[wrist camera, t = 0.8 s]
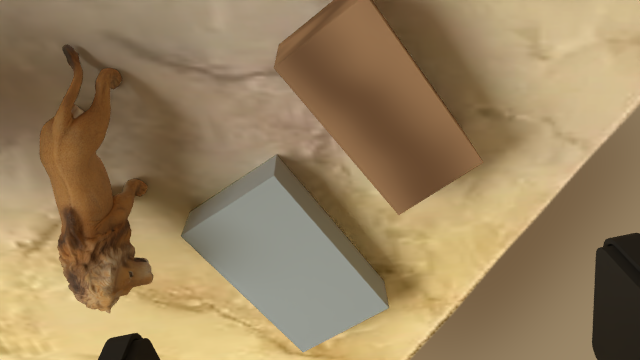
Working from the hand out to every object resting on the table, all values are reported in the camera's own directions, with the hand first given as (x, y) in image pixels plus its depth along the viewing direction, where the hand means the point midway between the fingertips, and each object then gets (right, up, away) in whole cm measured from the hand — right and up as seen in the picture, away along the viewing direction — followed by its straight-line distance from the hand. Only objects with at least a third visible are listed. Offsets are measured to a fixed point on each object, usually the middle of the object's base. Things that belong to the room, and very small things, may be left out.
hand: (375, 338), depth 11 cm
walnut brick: (+2, +9, +22) cm, 24 cm away
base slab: (-3, -2, +28) cm, 28 cm away
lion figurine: (-15, +5, +24) cm, 29 cm away
